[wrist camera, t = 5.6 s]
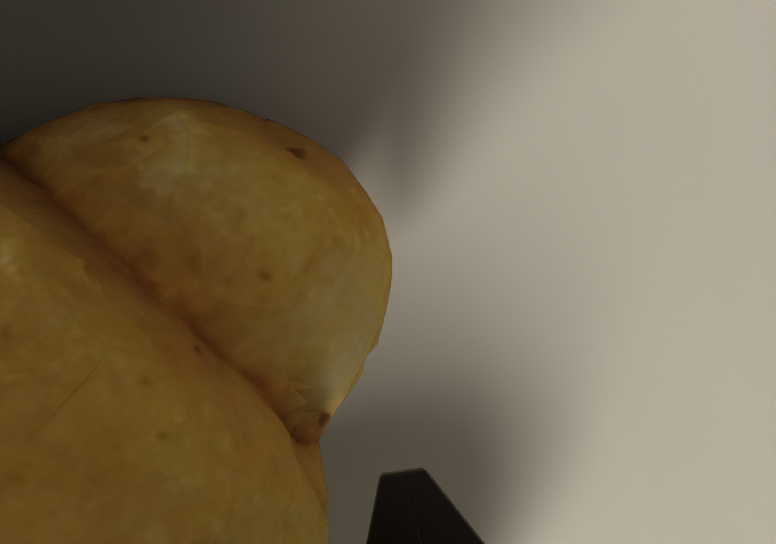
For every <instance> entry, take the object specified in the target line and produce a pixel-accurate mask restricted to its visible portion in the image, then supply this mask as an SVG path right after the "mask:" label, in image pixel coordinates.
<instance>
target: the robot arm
mask: <svg viewBox="0 0 776 544" xmlns="http://www.w3.org/2000/svg"><path fill="white" fill-rule="evenodd" d="M366 544H485V543H484V542H483V541H482V539H481V538H480V537H479V536H478V534H477V533H476V532H475V531H474V529H473V528H472V527H471V526H470V524H469V523H468V522H467V521H466V519H465V518H464V517H463V516H462V514H461V513H460V512H459V511H458V509H457V508H456V507H455V506H454V504H453V503H452V502H451V500H450V499H449V498H448V497H447V495H446V494H445V493H444V492H443V490H442V489H441V488H440V487H439V485H438V484H437V483H436V482H435V480H434V479H433V478H432V477H431V475H430V474H429V473H428V472H427V471H426V470H425V469H424V468H414V469H407V470H402V471H401V470H400V471H393V472H387V473H382V474H381V475H380V477H379V482H378V487H377V492H376V497H375V502H374V507H373V512H372V517H371V522H370V528H369V533H368V538H367V543H366Z"/></svg>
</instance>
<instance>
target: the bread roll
mask: <svg viewBox="0 0 776 544" xmlns="http://www.w3.org/2000/svg"><path fill="white" fill-rule="evenodd" d="M391 277H392V255H391V251H390V247H389V243H388V238H387V234H386V230H385V226H384V222H383V219H382V217H381V215H380V213H379V212H378V210H377V209H376V207H375V205H374V204H373V202H372V201H371V199H370V198H369V196H368V194H367V193H366V191H365V190H364V189H363V187H362V186H361V185H360V183H359V182H358V181H357V179H356V178H355V177H354V175H353V174H352V173H351V171H350V170H349V169H348V167H347V166H346V165H345V163H344V162H343V161H341V160H340V159H338V158H337V157H336V156H334V155H333V154H331V153H330V152H329V151H327V150H326V149H324V148H323V147H322V146H320V145H319V144H317V143H316V142H315V141H313V140H311V139H309V138H307V137H305V136H303V135H301V134H299V133H297V132H295V131H293V130H291V129H289V128H287V127H285V126H283V125H281V124H279V123H277V122H275V121H271V120H269V119H264V118H259V117H257V116H254V115H252V114H250V113H248V112H245V111H243V110H239V109H235V108H230V107H228V106H225V105H223V104H220V103H218V102H212V101H205V100H198V99H191V98H134V99H128V100H122V101H116V102H106V103H94V104H92V105H90V106H87V107H85V108H82V109H80V110H77V111H75V112H73V113H70V114H68V115H65V116H63V117H60V118H57V119H55V120H52V121H49V122H47V123H44V124H41V125H39V126H37V127H35V128H33V129H31V130H30V131H28V132H26V133H24V134H22V135H20V136H18V137H17V138H15V139H13V140H11V141H9V142H7V143H4V144H1V145H0V544H328V523H327V487H326V483H325V478H324V474H323V470H322V466H321V454H320V445H319V439H320V437H321V435H322V434H323V432H324V430H325V428H326V426H327V425H328V423H329V421H330V419H331V417H332V416H333V414H334V413H335V411H336V410H337V408H338V407H339V406H340V404H341V403H342V401H343V400H344V399H345V397H346V396H347V394H348V393H349V391H350V390H351V389H352V387H353V386H354V384H355V383H356V382H357V380H358V379H359V377H360V376H361V374H362V373H363V366H364V360H365V358H366V356H367V355H368V354H369V353H370V352H371V351H372V349H373V348H374V347H375V346H376V345H377V343H378V339H379V335H380V332H381V328H382V324H383V320H384V316H385V312H386V308H387V303H388V297H389V292H390V287H391Z"/></svg>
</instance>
